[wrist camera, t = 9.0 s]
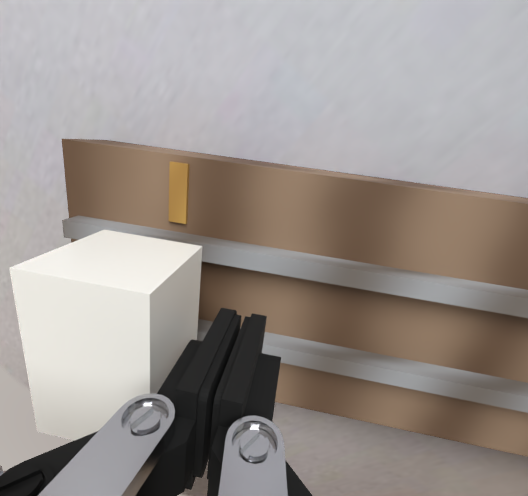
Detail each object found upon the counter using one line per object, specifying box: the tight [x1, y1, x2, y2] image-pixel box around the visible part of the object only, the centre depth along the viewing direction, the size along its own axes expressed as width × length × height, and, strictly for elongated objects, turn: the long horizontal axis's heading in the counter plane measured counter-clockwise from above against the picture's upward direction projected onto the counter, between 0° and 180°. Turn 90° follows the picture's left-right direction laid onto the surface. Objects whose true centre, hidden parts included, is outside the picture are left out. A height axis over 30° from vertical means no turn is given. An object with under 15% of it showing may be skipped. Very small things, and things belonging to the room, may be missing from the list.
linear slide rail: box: [62, 139, 528, 457], centre depth 15 cm, size 28×12×4 cm, turn 83°
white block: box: [9, 230, 202, 441], centre depth 12 cm, size 4×6×6 cm, turn 173°
